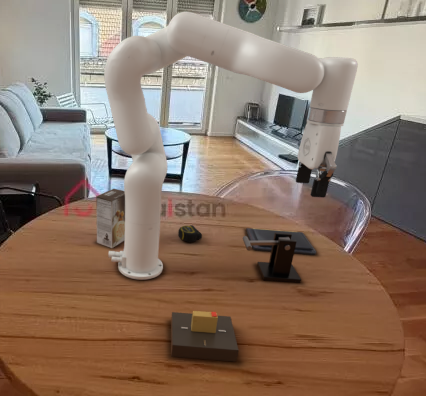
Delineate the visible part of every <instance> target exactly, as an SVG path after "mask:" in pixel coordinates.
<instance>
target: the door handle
mask: <svg viewBox="0 0 426 396" xmlns="http://www.w3.org/2000/svg"><path fill="white" fill-rule="evenodd" d="M279 239H288V240H290V238H289V237H278V240H263V241H250V240H249V237H248V235H244V236H242V242H243V243H244V246H245V248H246V250H247V251H249V252H251V251H252V250H253V248H252V245H278V241H279Z"/></svg>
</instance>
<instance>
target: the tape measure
mask: <svg viewBox="0 0 426 396" xmlns="http://www.w3.org/2000/svg"><path fill="white" fill-rule="evenodd" d="M177 235H178V238H179V239H180V240H182V241H183V242H186V243H194V242H198V241H201V240H202V238H203V234H202V233H201V232H200V231H199V230H198V229H197V228H196V227H195V226H194V225H182V226H180V227H179V229H178V232H177Z"/></svg>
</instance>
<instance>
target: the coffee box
mask: <svg viewBox="0 0 426 396" xmlns="http://www.w3.org/2000/svg"><path fill="white" fill-rule="evenodd" d="M95 197H96V199H95V200H96V202H95V203H96V243H97V244H99V245H102V246H105V247H107V248H111V249H114V247H117V246H118V245H120V244H121V243H123V242H125V191H124V190H121V189H118V188H112V189H110V190H107V191H105V192H103V193H101V194H98V195H96V196H95Z"/></svg>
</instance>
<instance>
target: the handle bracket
mask: <svg viewBox="0 0 426 396" xmlns="http://www.w3.org/2000/svg"><path fill="white" fill-rule="evenodd" d="M278 237H289V238H290V240H288V239H279V241H278V245H272V250H271V252H270V255H269V261H257V263H256V266H257V269H258V271H259V274H260V276H261V278H262V280H263V282H264V281H266V282H278V283H279V282H280V283H295V284H301V282H302V278H301V277H300V275H299V273H298V272H297V270H296V268H295V267H294V264H293V259H294V256H295V253H294V251H295V247H296V240H291V237H292V234H291V233H279V232H275V234H274V240H278Z"/></svg>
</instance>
